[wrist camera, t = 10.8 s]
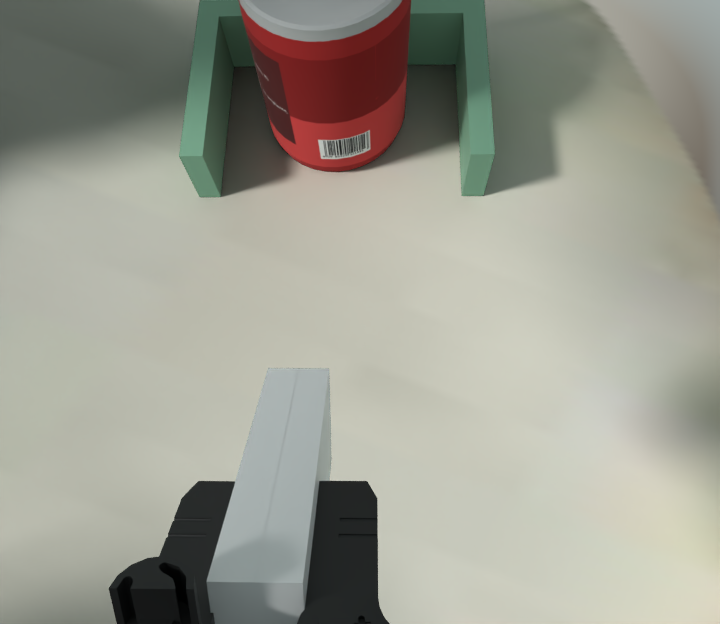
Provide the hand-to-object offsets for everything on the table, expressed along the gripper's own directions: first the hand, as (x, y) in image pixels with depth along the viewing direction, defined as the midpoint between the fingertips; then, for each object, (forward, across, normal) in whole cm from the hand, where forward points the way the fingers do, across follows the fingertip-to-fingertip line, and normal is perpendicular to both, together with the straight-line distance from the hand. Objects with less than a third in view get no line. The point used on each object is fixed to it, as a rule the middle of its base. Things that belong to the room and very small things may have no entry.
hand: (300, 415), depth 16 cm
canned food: (+26, 0, +3) cm, 26 cm away
